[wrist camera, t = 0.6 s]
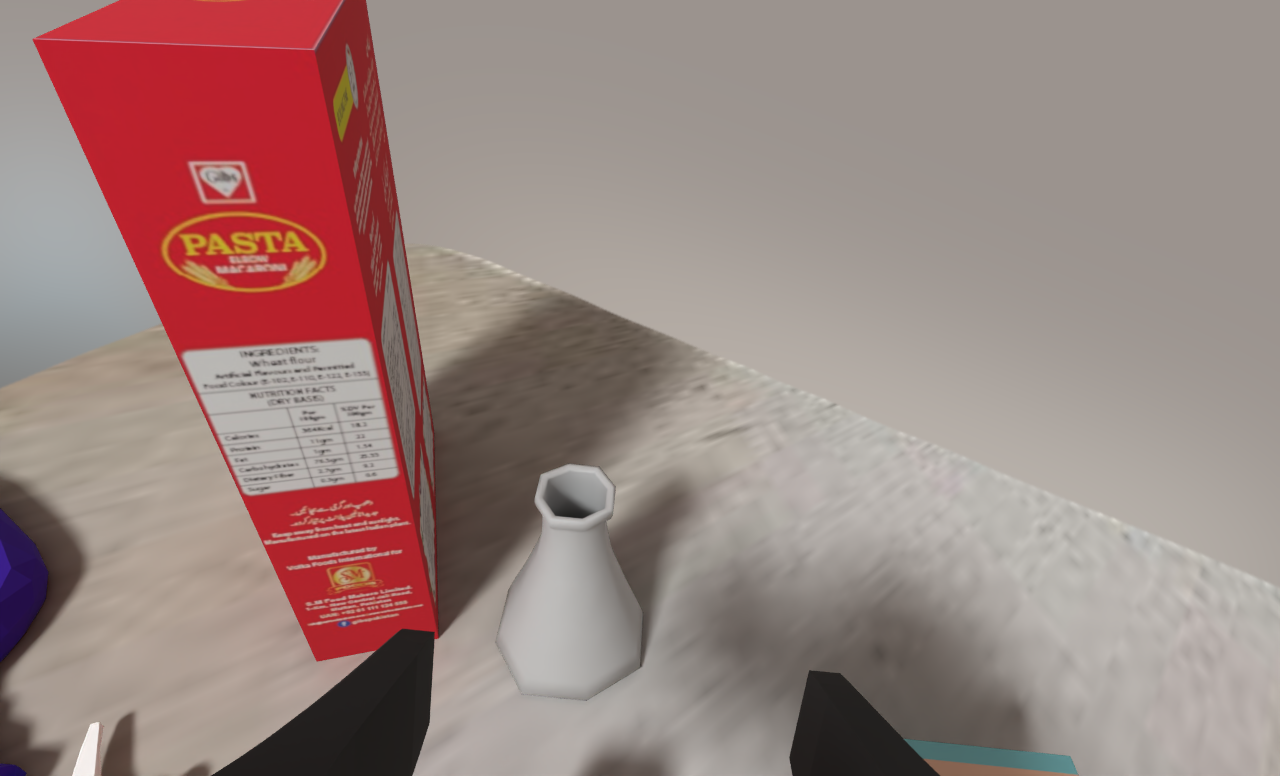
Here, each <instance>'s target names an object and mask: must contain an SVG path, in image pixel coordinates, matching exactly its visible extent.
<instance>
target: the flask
mask: <svg viewBox="0 0 1280 776" xmlns="http://www.w3.org/2000/svg"><path fill="white" fill-rule="evenodd" d="M615 491H616V486H615V485H614V484H613V483H612V482H611V480H610V479H609V478H608V477H607V475H606V474H605V473H604V472H603V470H602V469H601V468H600V467H599V466H590V465H580V464H570V463H568V464H566V465H563V466H561V467H558V468H556V469H553V470H550V471H548V472H545V473H543V474H541V475H540V479H539V483H538V487H537V491H536V495H535V505H536V507H537V508H538V510H539V511H540V513H541V514H542V516H543V521H542V533H541V536H540V537H539V539H538V541H537V543H536V545H535V547H534V548H533V550H532V552H531V554H530V556H529V557H528V559H527V561H526V563H525V564H524V566H523V567H522V569H521V570H520V572H519V573H518V575H517V576H516V578H515V579H514V581H513V583H512V584H511V586H510V588H509V590H508V594H507V598H506V602H505V606H504V610H503V614H502V618H501V622H500V626H499V630H498V634H497V638H496V644H497V646H498V648H499V650H500V652H501V654H502V656H503V658H504V660H505V662H506V664H507V666H508V668H509V670H510V672H511V674H512V676H513V678H514V680H515V682H516V684H517V686H518V688H519V690H520V692H521V693H522V694H523V695H533V696H544V697H554V698H564V699H575V700H585V701H587V700H588V699H590V698H591V697H593V696H595V695H596V694H598V693H600V692H601V691H603V690H605V689H606V688H608V687H610V686H611V685H613V684H614V683H616V682H618V681H619V680H621V679H623V678H624V677H626V676H628V675H629V674H631V673H633V672H634V671H636V670H637V669H639V668H640V657H641V639H642V621H643V612H642V609H641V607H640V605H639V603H638V601H637V599H636V597H635V595H634V594H633V592H632V590H631V588H630V586H629V584H628V582H627V580H626V578H625V576H624V574H623V572H622V570H621V567H620V565H619V563H618V561H617V559H616V556H615V554H614V552H613V550H612V548H611V544H610V538H609V533H608V528H607V522H606V521H607V520H609V519H611V518H612V516H613V508H614V500H615Z"/></svg>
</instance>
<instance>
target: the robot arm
mask: <svg viewBox="0 0 1280 776" xmlns="http://www.w3.org/2000/svg"><path fill="white" fill-rule="evenodd" d="M434 637H435V632H431V631H422V630H412V629H401V630H400V631H398V632H397V633H396V634H394V635H393V636H392V637H391V638H390V639H389V640H388V641H386V642H385V643H384V644H383V645H382V646H381V647H380V648H379V649H377V650H376V651H375V652H374V653H373V654H372V655H371V656H369V657H368V658H367V659H366V660H365V661H364V662H363V663H361V664H360V665H359V666H358V667H357V668H356V669H354V670H353V671H352V672H351V673H350V674H349V675H347V676H346V677H345V678H344V679H343V680H341V681H340V682H339V683H338V684H337V685H335V686H334V687H333V688H332V689H331V690H329V691H328V692H327V693H326V694H324V695H323V696H322V697H321V698H320V699H318V700H317V701H316V702H315V703H313V704H312V705H311V706H310V707H308V708H307V709H306V710H304V711H303V712H302V713H300V714H299V715H298V716H296V717H295V718H294V719H292V720H291V721H290V722H288V723H287V724H286V725H284V726H283V727H282V728H280V729H279V730H278V731H276V732H275V733H274V734H272V735H271V736H270V737H268V738H267V739H266V740H264V741H263V742H261V743H260V744H259V745H257V746H256V747H254V748H253V749H251V750H250V751H248V752H247V753H246V754H244V755H243V756H241V757H240V758H238V759H237V760H235V761H233V762H232V763H230V764H229V765H227V766H226V767H224V768H223V769H221V770H219V771H218V772H216V773H215V774H213V775H212V776H412V775H413V772H414V769H415V766H416V763H417V760H418V757H419V754H420V751H421V748H422V745H423V742H424V739H425V735H426V732H427V729H428V726H429V722H430V705H431V688H432V671H433V654H434ZM789 758H790V764H791V769H792V775H793V776H940V775H939V774H938V773H937V772H936V771H935V770H934V769H933V768H932V767H931V766H930V765H929V764H928V763H927V762H926V761H925V760H924V759H923V758H922V757H921V756H920V755H919V754H918V753H917V752H916V751H915V750H914V749H913V748H912V747H911V746H910V745H909V744H908V743H907V742H906V741H905V740H904V739H903V738H902V737H901V736H900V735H899V734H898V733H897V732H896V731H895V730H894V729H893V728H892V727H891V726H890V725H889V723H888V722H887V721H886V720H885V719H884V718H883V717H882V716H881V715H880V714H879V713H878V712H877V711H876V710H875V709H874V708H873V707H872V706H871V705H870V703H869V702H868V701H867V700H866V699H865V698H864V697H863V696H862V695H861V694H860V693H859V692H858V691H857V690H856V689H855V688H854V687H853V686H852V685H851V684H850V683H849V682H848V681H847V680H846V679H845V678H844V677H843V676H842V675H841V674H840V673H830V672H820V671H811V670H809V674H808V678H807V683H806V687H805V691H804V696H803V700H802V705H801V709H800V713H799V718H798V722H797V726H796V731H795V735H794V740H793V744H792V748H791V753H790V757H789Z"/></svg>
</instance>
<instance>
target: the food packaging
mask: <svg viewBox="0 0 1280 776" xmlns="http://www.w3.org/2000/svg"><path fill="white" fill-rule="evenodd" d="M33 42H34V44H35V46H36V48H37V50H38V52H39V55H40V57H41V59H42V61H43V63H44V66H45V68H46V70H47V72H48V74H49V77H50V79H51V81H52V83H53V85H54V87H55V90H56V92H57V94H58V96H59V98H60V101H61V103H62V105H63V107H64V109H65V112H66V114H67V116H68V118H69V120H70V123H71V125H72V127H73V129H74V131H75V133H76V135H77V138H78V140H79V142H80V144H81V146H82V149H83V151H84V153H85V155H86V157H87V159H88V162H89V164H90V166H91V168H92V170H93V173H94V175H95V177H96V179H97V182H98V184H99V186H100V188H101V190H102V193H103V195H104V197H105V199H106V201H107V203H108V206H109V208H110V210H111V212H112V214H113V217H114V219H115V221H116V223H117V225H118V228H119V229H120V232H121V234H122V236H123V239H124V240H125V243H126V245H127V247H128V249H129V252H130V254H131V256H132V258H133V260H134V262H135V265H136V267H137V269H138V271H139V274H140V276H141V278H142V280H143V282H144V284H145V286H146V289H147V291H148V293H149V295H150V297H151V300H152V302H153V304H154V306H155V309H156V311H157V313H158V315H159V317H160V319H161V322H162V324H163V326H164V328H165V330H166V333H167V335H168V337H169V339H170V341H171V344H172V346H173V348H174V350H175V352H176V355H177V357H178V359H179V361H180V363H181V365H182V368H183V370H184V372H185V374H186V376H187V379H188V381H189V383H190V385H191V387H192V390H193V392H194V394H195V396H196V398H197V400H198V403H199V405H200V407H201V409H202V411H203V414H204V416H205V418H206V420H207V422H208V425H209V427H210V429H211V431H212V433H213V435H214V438H215V440H216V442H217V444H218V446H219V449H220V451H221V453H222V455H223V457H224V460H225V462H226V464H227V466H228V468H229V471H230V473H231V475H232V477H233V479H234V481H235V484H236V486H237V488H238V490H239V492H240V495H241V497H242V499H243V501H244V503H245V506H246V508H247V510H248V512H249V514H250V516H251V519H252V521H253V523H254V525H255V527H256V530H257V532H258V534H259V536H260V538H261V541H262V543H263V545H264V547H265V549H266V551H267V554H268V556H269V558H270V560H271V562H272V565H273V567H274V569H275V571H276V573H277V576H278V578H279V580H280V582H281V584H282V587H283V589H284V591H285V593H286V595H287V597H288V600H289V602H290V604H291V606H292V608H293V611H294V613H295V615H296V617H297V619H298V622H299V624H300V626H301V628H302V630H303V632H304V635H305V637H306V639H307V641H308V643H309V646H310V648H311V650H312V652H313V654H314V657H315V659H316V661H322V660H327V659H333V658H338V657H343V656H349V655H354V654H359V653H364V652H370V651H375V650H377V649H379V648H380V647H381V646H382V645H383V644H384V643H385V642H386V641H388V640H389V639H390V638H391V637H392V636H393V635H394V634H396V633H397V632H398V631H400V630H401V629H412V630H422V631H431V632H435V637H434V639H438V638H439V635H438V590H437V544H436V498H435V453H434V427H433V421H432V414H431V408H430V402H429V395H428V389H427V383H426V377H425V370H424V364H423V358H422V351H421V345H420V339H419V332H418V326H417V320H416V313H415V307H414V301H413V294H412V288H411V282H410V276H409V269H408V263H407V257H406V250H405V244H404V238H403V232H402V225H401V219H400V213H399V206H398V200H397V193H396V187H395V181H394V175H393V168H392V162H391V156H390V150H389V144H388V137H387V131H386V124H385V118H384V111H383V105H382V99H381V93H380V86H379V80H378V74H377V67H376V61H375V55H374V48H373V42H372V36H371V29H370V23H369V17H368V11H367V5H366V0H119V1H117V2H115V3H113V4H110V5H108V6H106V7H104V8H101V9H99V10H97V11H95V12H93V13H90V14H88V15H86V16H83V17H81V18H79V19H77V20H74V21H72V22H70V23H68V24H65V25H63V26H61V27H59V28H56V29H54V30H52V31H50V32H47V33H45V34H43V35H41V36H38V37H36V38H34V39H33Z"/></svg>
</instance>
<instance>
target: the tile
mask: <svg viewBox="0 0 1280 776" xmlns="http://www.w3.org/2000/svg"><path fill="white" fill-rule="evenodd" d="M904 740H905V741H906V742H907V743H908V744H909V745H910V746H911V747H912V748H913V749H914V750H915V751H916V752H917V753H918V754H919V755H920V756H921V757H922V758H923V759H924V760H925V761H926V762H927V763H928V764H929V765H930V766H931V767H932V768H933V769H934V770H935V771H936V772H937V773H938V774H939V775H940V776H1079V775H1078V773H1077V770H1076V768H1075V766H1074V764H1073V761H1072V759H1071V757H1070V756H1065V755H1055V754H1045V753H1036V752H1026V751H1017V750H1007V749H997V748H988V747H978V746H969V745H959V744H949V743H940V742H930V741H921V740H911V739H904Z"/></svg>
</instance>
